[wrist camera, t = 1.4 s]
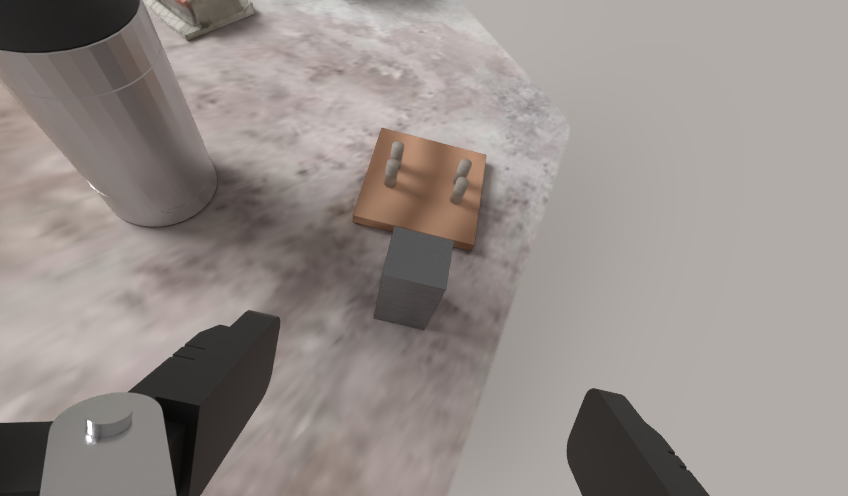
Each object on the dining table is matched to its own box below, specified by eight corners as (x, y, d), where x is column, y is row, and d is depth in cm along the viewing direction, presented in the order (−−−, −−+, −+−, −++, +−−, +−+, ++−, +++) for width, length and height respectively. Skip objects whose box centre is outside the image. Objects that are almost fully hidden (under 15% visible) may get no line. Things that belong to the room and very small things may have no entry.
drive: (373, 318, 35) (382, 274, 28) (384, 276, 37) (394, 225, 30) (423, 329, 36) (445, 289, 28) (431, 288, 38) (454, 239, 30)
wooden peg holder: (352, 222, 40) (353, 196, 36) (380, 135, 46) (383, 106, 42) (470, 251, 40) (483, 228, 37) (483, 162, 46) (494, 135, 43)
